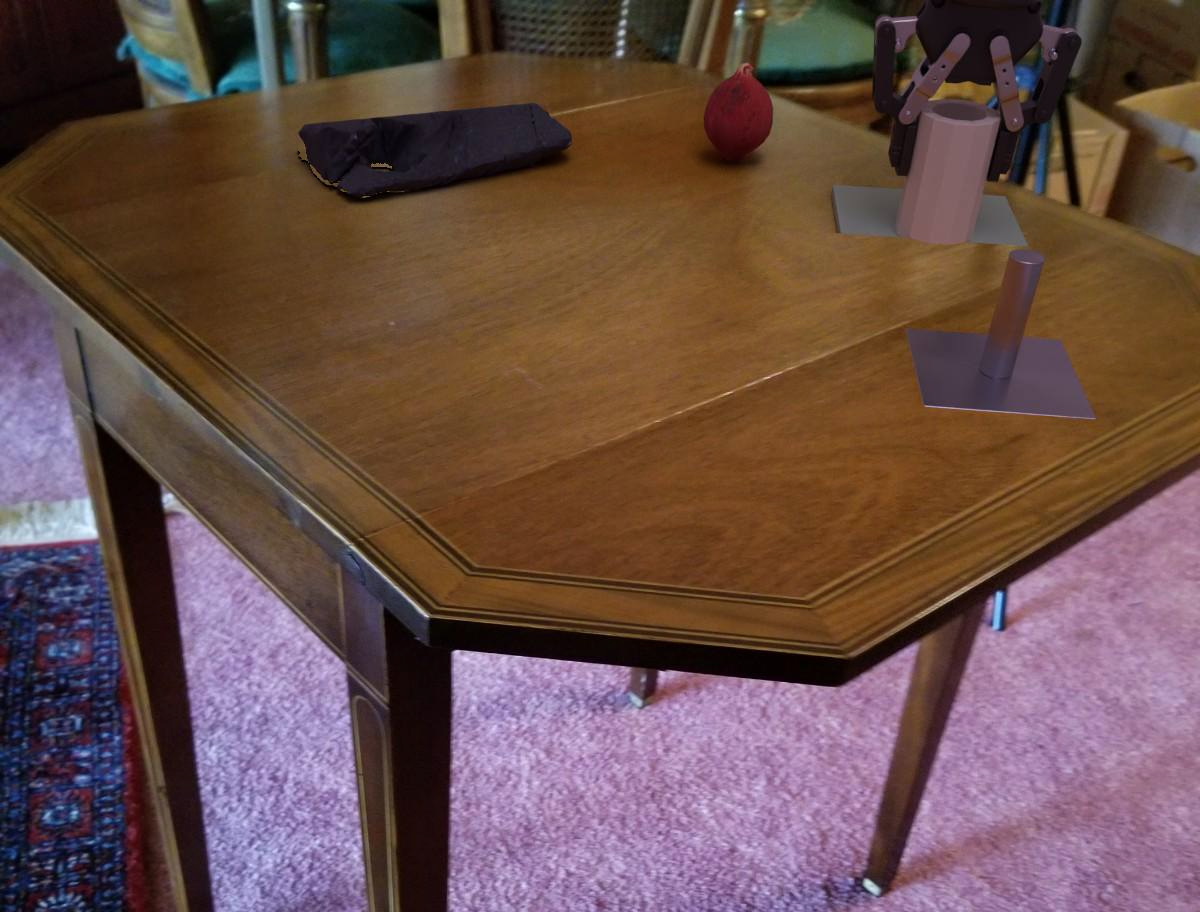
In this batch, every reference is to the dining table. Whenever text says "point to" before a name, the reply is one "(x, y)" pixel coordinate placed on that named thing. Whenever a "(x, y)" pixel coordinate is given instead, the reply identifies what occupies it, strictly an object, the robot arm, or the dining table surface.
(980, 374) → the roll stand
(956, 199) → the paper roll
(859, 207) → the mat
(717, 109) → the onion
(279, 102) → the dining table surface
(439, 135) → the black folded cloth
